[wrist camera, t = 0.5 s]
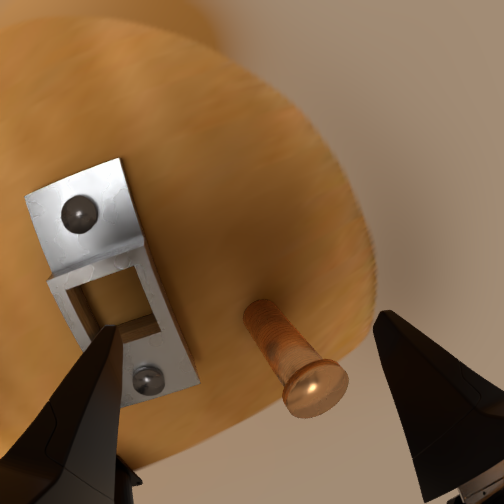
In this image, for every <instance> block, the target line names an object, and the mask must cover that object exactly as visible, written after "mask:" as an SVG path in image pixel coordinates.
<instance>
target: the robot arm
mask: <svg viewBox="0 0 504 504" xmlns="http://www.w3.org/2000/svg"><path fill="white" fill-rule="evenodd" d="M373 333H374V338H375V342H376V345H377V349H378V353H379V357H380V361H381V365H382V368H383V371H384V374H385V377H386V379H387V382H388V385H389V388H390V391H391V394H392V396H393V399H394V402H395V405H396V408H397V411H398V414H399V417H400V420H401V424H402V427H403V430H404V433H405V436H406V440H407V443H408V446H409V449H410V453H411V456H412V458H413V459H412V460H413V464H414V467H415V471H416V474H417V477H418V482H419V485H420V489H421V493H422V497H423V500H424V503H427V502H429V501H431V500H433V499H436V498H438V497H440V496H442V495H444V494H446V493H448V492H450V491H452V490H454V489H456V488H457V489H458V491H459V495H457V496H455V497H453V498H452V499H450V500H449V501H447V504H504V391H503V390H501V389H500V388H498V387H497V386H495V385H493V384H492V383H490V382H489V381H487V380H486V379H484V378H483V377H481V376H480V375H478V374H477V373H475V372H474V371H472V370H471V369H470V368H468V367H467V366H466V365H465V364H463V363H462V362H461V361H460V362H459V360H458V359H457V358H455V357H454V356H453V355H451V354H450V353H449V352H448V351H446V350H445V349H444V348H442V347H441V346H440V345H438V344H437V343H435V342H434V341H433V340H431V339H430V338H429V337H427V336H426V335H425V334H423V333H422V332H421V331H419V330H418V329H417V328H415V327H414V326H412V325H411V324H410V323H409V322H407V321H406V320H404V319H403V318H402V317H400V316H399V315H397V314H396V313H395V312H393V311H392V310H384V311H381V312H380V313H379V315H378V317H377V319H376V321H375V323H374V325H373ZM122 376H123V341H122V338H121V335H120V332H119V328H118V326H117V325H105V326H104V327H103V328H102V329H101V330H100V332H99V333H98V334H97V336H96V337H95V338H94V339H93V341H92V342H91V343H90V345H89V346H88V347H87V349H86V350H85V351H84V352H83V354H82V355H81V356H80V358H79V359H78V360H77V362H76V363H75V364H74V366H73V367H72V368H71V370H70V371H69V373H68V374H67V375H66V377H65V378H64V379H63V381H62V382H61V383H60V385H59V386H58V388H57V389H56V390H55V392H54V393H53V395H52V396H51V397H50V399H49V401H50V402H49V401H48V402H47V403H46V404H45V406H44V407H43V409H42V410H41V411H40V413H39V414H38V416H37V417H36V418H35V420H34V421H33V422H32V423H31V425H30V426H29V427H28V428H27V429H26V431H25V432H24V433H23V434H22V435H21V437H20V438H19V439H18V440H17V441H16V442H15V444H14V445H13V446H12V447H11V448H10V450H9V451H8V452H7V453H6V454H5V455H4V456H3V457H2V458H1V459H0V504H134V503H133V495H132V486H138V485H142V480H141V479H140V478H139V477H138V476H137V475H136V474H135V473H134V472H133V471H132V470H131V469H130V468H129V467H128V466H127V465H126V464H125V463H124V462H123V461H122V459H121V458H120V457H119V456H117V455H116V448H117V436H118V425H119V415H120V405H121V397H122Z"/></svg>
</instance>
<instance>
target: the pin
mask: <svg viewBox="0 0 504 504" xmlns="http://www.w3.org/2000/svg"><path fill="white" fill-rule="evenodd" d="M243 321H244V324H245V326H246V328H247V329H248V331H249V333H250V334H251V336H252V337H253V339H254V341H255V342H256V344H257V346H258V347H259V349H260V350H261V352H262V354H263V355H264V357H265V358H266V360H267V361H268V363H269V365H270V366H271V368H272V369H273V371H274V373H275V374H276V376H277V377H278V379H279V380H280V382H281V383H282V385H283V387H284V389H283V394H282V398H283V402H284V404H285V405H286V407H287V408H288V410H289V412H290V413H291V414H292V415H293V416H295V417H297V418H312V417H316V416H318V415H321V414H323V413H325V412H326V411H328V410H329V409H331V408H332V407H333V406H335V405H336V404H337V403H338V402H339V401H340V399H341V398H342V397H343V395H344V394H345V392H346V390H347V387H348V382H349V378H348V375H347V373H346V371H344V370H343V368H342V367H341V366H340V365H339V364H338V363H337V362H335V361H333V360H330V359H322V358H321V356H320V355H319V354H318V353H317V352H316V351H315V350H314V349H313V347H312V346H311V345H310V344H309V343H308V342H307V341H306V339H305V338H304V337H303V336H302V335H301V334H300V333H299V332H298V330H297V329H296V328H295V327H294V326H293V325H292V324H291V322H290V321H289V320H288V319H287V318H286V317H285V316H284V315H283V313H282V312H281V311H280V310H279V309H278V308H277V307H276V305H275V304H274V303H273V302H271V301H269V300H258V301H255V302H253V303H252V304H250V305H249V306H248V307H247V309H246V310H245V312H244V315H243Z"/></svg>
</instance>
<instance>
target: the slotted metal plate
mask: <svg viewBox="0 0 504 504" xmlns="http://www.w3.org/2000/svg"><path fill="white" fill-rule="evenodd" d="M24 198H25V201H26V204H27V207H28V210H29V213H30V216H31V219H32V222H33V225H34V228H35V230H36V233H37V236H38V239H39V241H40V244H41V246H42V249H43V252H44V254H45V257H46V259H47V261H48V264H49V266H50V269H51V271H52V274H51V275H50V277H49V278H48V280H47V283H48V286H49V288H50V290H51V292H52V294H53V296H54V298H55V300H56V302H57V305H58V307H59V309H60V311H61V313H62V314H63V316H64V318H65V320H66V322H67V324H68V326H69V328H70V330H71V332H72V333H73V335H74V337H75V339H76V341H77V342H78V344H79V346H80V348H81V349H82V351H83V352H84V351H85V350H86V349H87V347H88V346H89V345H90V343H91V342H92V341H93V339H94V338H95V337H96V336H97V334H98V333H99V332H100V328H99V326H98V324H97V322H96V320H95V318H94V316H93V314H92V312H91V310H90V308H89V305H88V303H87V301H86V299H85V297H84V295H83V293H82V290H81V288H80V286H79V285H81V284H84V283H86V282H89V281H92V280H95V279H98V278H100V277H103V276H106V275H109V274H112V273H115V272H117V271H120V270H123V269H126V268H129V267H132V266H135V269H136V272H137V274H138V277H139V279H140V282H141V284H142V287H143V289H144V292H145V294H146V297H147V299H148V301H149V304H150V306H151V308H152V311H153V314H150V315H147V316H144V317H141V318H138V319H135V320H132V321H129V322H126V323H123V324H120V325H117V326H118V328H119V332H120V335H121V338H122V341H123V376H122V397H121V405H120V408H122V407H126V406H129V405H133V404H137V403H140V402H144V401H147V400H150V399H154V398H157V397H160V396H164V395H167V394H170V393H173V392H176V391H179V390H183V389H186V388H189V387H192V386H195V385H198V384H200V380H199V376H198V373H197V369H196V366H195V362H194V360H193V358H192V355H191V353H190V351H189V348H188V346H187V344H186V341H185V339H184V337H183V334H182V332H181V330H180V327H179V325H178V322H177V320H176V318H175V315H174V313H173V310H172V308H171V305H170V303H169V300H168V298H167V295H166V292H165V290H164V287H163V285H162V282H161V279H160V277H159V274H158V271H157V269H156V266H155V263H154V260H153V258H152V255H151V252H150V249H149V246H148V243H147V240H146V238H145V235H144V232H143V229H142V226H141V223H140V220H139V216H138V213H137V210H136V207H135V204H134V201H133V198H132V194H131V191H130V188H129V184H128V181H127V178H126V174H125V171H124V167H123V164H122V160H121V158H117V159H114V160H111V161H108V162H106V163H103V164H100V165H97V166H95V167H92V168H90V169H87V170H84V171H82V172H79V173H77V174H74V175H72V176H69V177H67V178H65V179H62V180H60V181H57V182H55V183H53V184H50V185H48V186H46V187H44V188H41V189H39V190H37V191H35V192H33V193H30V194H28V195H26V196H24Z"/></svg>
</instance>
